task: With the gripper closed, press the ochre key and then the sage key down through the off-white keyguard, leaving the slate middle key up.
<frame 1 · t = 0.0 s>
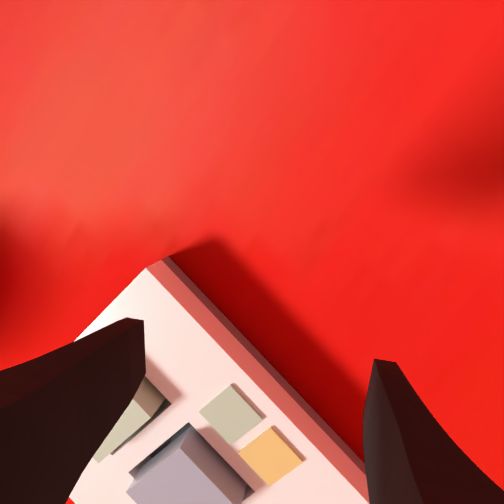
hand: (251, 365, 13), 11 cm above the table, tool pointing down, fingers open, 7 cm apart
keyguard panel: (205, 447, 26), on the table
key sage: (104, 400, 23), point 3 cm above the table, slide at 0.0 cm
key slate: (187, 487, 23), point 3 cm above the table, slide at 0.0 cm
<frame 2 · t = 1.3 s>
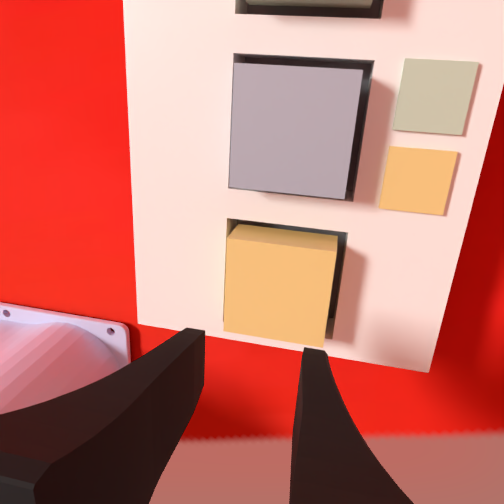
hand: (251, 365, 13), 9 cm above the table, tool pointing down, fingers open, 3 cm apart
keyguard panel: (302, 124, 19), on the table
key ochre: (279, 284, 18), point 3 cm above the table, slide at 0.0 cm
key slate: (294, 130, 16), point 3 cm above the table, slide at 0.0 cm
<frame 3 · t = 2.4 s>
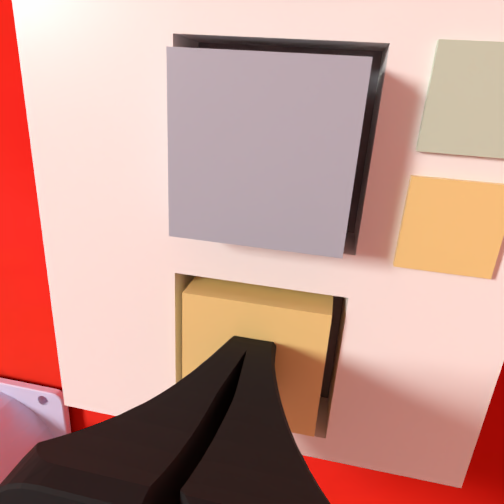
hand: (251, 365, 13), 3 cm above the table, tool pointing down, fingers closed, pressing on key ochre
keyguard panel: (283, 138, 14), on the table
key ochre: (256, 349, 14), point 2 cm above the table, slide at 1.0 cm, touching gripper
key slate: (265, 151, 11), point 3 cm above the table, slide at 0.0 cm
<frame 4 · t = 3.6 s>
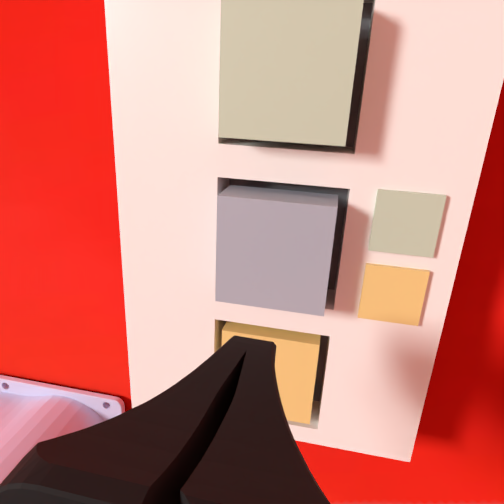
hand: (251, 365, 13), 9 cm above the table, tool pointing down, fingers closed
keyguard panel: (286, 224, 20), on the table
key sage: (288, 73, 15), point 3 cm above the table, slide at 0.0 cm
key ochre: (270, 365, 20), point 2 cm above the table, slide at 1.2 cm
key slate: (275, 248, 17), point 3 cm above the table, slide at 0.0 cm
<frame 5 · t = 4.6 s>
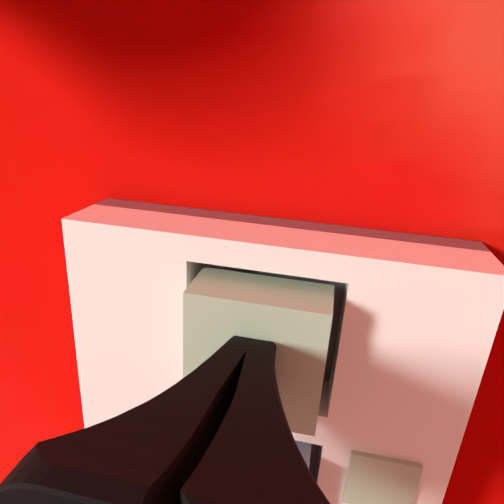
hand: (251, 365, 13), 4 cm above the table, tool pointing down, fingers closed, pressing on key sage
keyguard panel: (262, 427, 19), on the table
key sage: (257, 348, 14), point 3 cm above the table, slide at 0.0 cm, touching gripper
key slate: (246, 491, 16), point 3 cm above the table, slide at 0.0 cm
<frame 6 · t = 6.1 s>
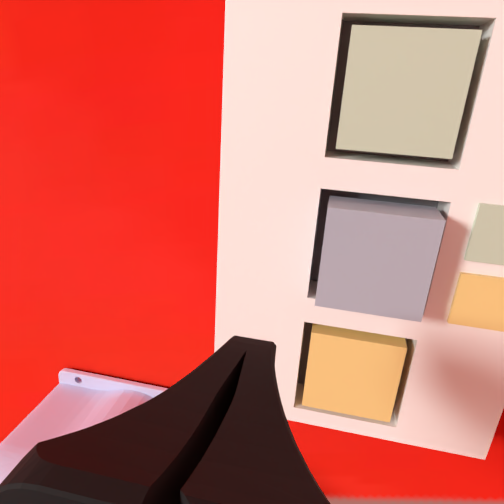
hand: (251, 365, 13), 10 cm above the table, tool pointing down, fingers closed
keyguard panel: (370, 232, 21), on the table
key sage: (400, 93, 17), point 2 cm above the table, slide at 1.2 cm
key ochre: (351, 366, 21), point 2 cm above the table, slide at 1.2 cm
key slate: (374, 257, 18), point 3 cm above the table, slide at 0.0 cm
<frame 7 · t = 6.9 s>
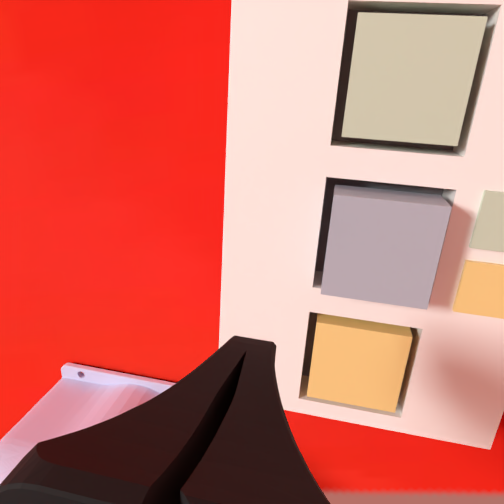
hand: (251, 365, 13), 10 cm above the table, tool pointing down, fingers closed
keyguard panel: (374, 222, 21), on the table
key sage: (405, 81, 17), point 2 cm above the table, slide at 1.2 cm
key ochre: (356, 356, 21), point 2 cm above the table, slide at 1.2 cm
key slate: (379, 245, 18), point 3 cm above the table, slide at 0.0 cm
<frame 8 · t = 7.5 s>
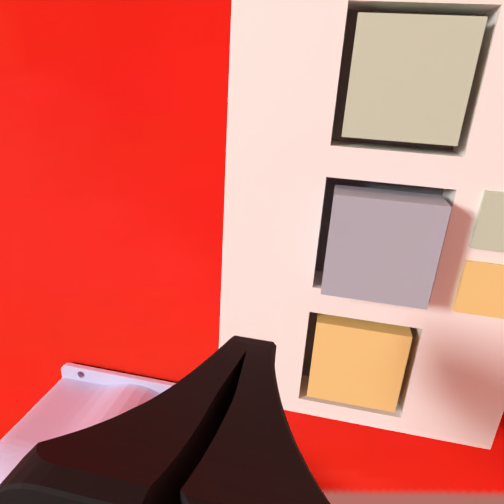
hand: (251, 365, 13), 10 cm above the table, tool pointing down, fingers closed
keyguard panel: (374, 222, 21), on the table
key sage: (405, 81, 17), point 2 cm above the table, slide at 1.2 cm
key ochre: (356, 356, 21), point 2 cm above the table, slide at 1.2 cm
key slate: (379, 245, 18), point 3 cm above the table, slide at 0.0 cm
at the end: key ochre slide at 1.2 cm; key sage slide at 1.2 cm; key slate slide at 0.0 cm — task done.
